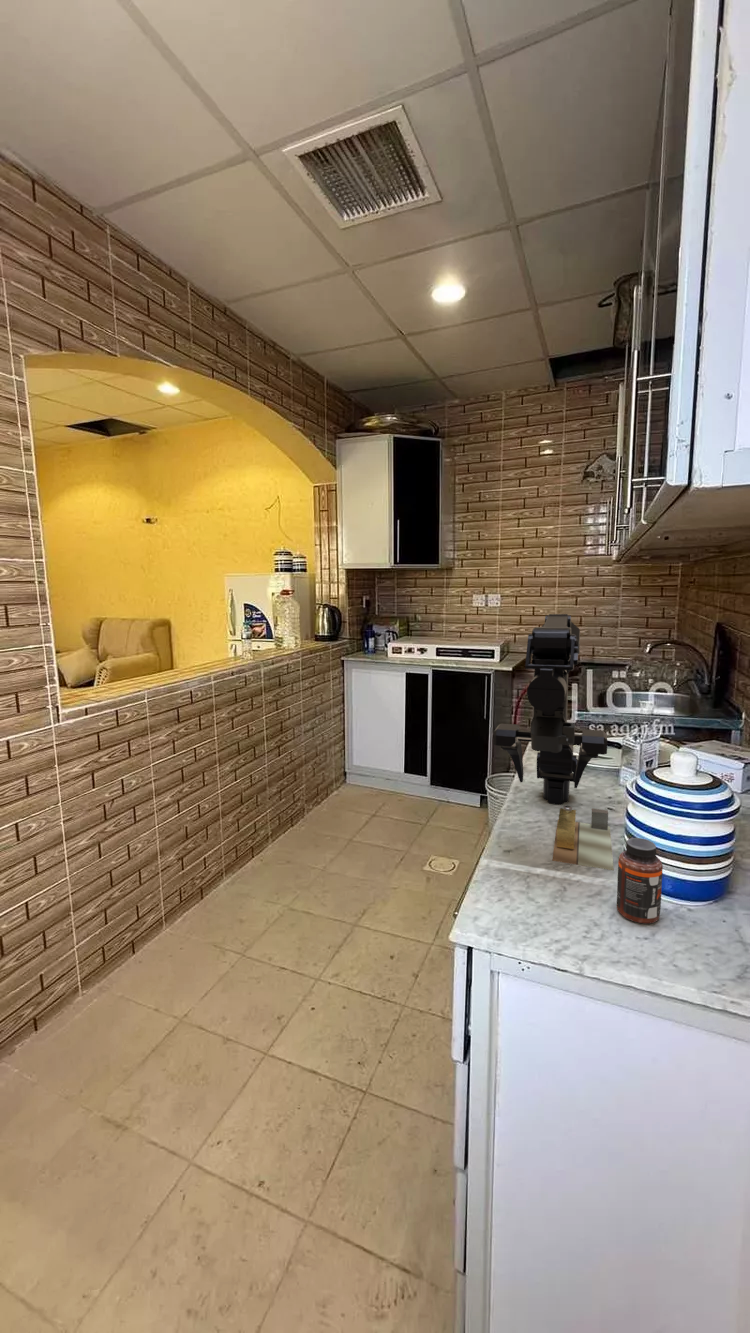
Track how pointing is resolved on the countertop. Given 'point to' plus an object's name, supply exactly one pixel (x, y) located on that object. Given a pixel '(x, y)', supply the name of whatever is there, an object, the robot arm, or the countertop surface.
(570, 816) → the latch bar
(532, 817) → the countertop surface
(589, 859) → the door board
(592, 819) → the stop block
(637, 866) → the supplement bottle
